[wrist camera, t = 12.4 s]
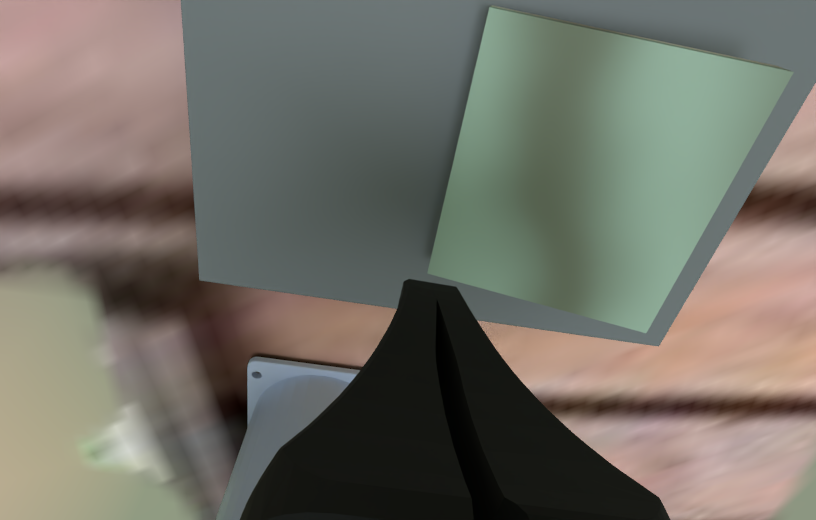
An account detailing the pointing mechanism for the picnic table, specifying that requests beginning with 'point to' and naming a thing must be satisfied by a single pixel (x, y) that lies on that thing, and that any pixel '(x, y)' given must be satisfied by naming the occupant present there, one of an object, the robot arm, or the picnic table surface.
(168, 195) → the picnic table surface
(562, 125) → the tile
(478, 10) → the board
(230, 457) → the picnic table surface
